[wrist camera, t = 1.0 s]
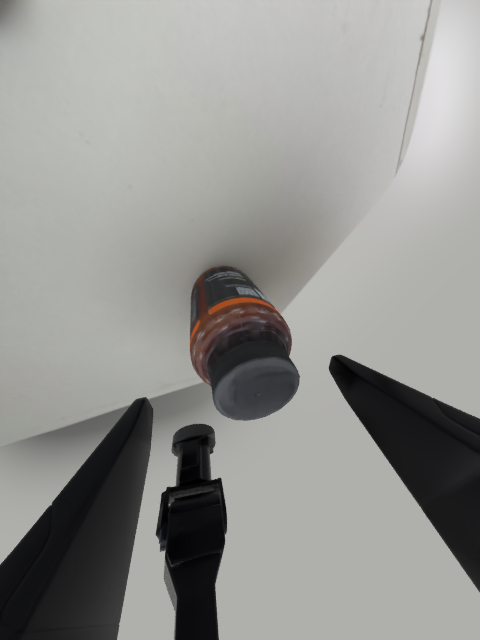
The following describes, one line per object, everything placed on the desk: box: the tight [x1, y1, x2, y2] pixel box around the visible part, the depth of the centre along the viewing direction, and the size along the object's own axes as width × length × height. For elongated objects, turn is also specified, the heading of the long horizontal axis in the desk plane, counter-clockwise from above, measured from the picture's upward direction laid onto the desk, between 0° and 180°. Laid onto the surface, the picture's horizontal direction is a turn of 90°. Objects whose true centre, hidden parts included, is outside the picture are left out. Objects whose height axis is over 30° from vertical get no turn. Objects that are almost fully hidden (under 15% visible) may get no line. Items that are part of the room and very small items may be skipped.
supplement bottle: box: [190, 266, 300, 420], centre depth 12 cm, size 6×6×11 cm
